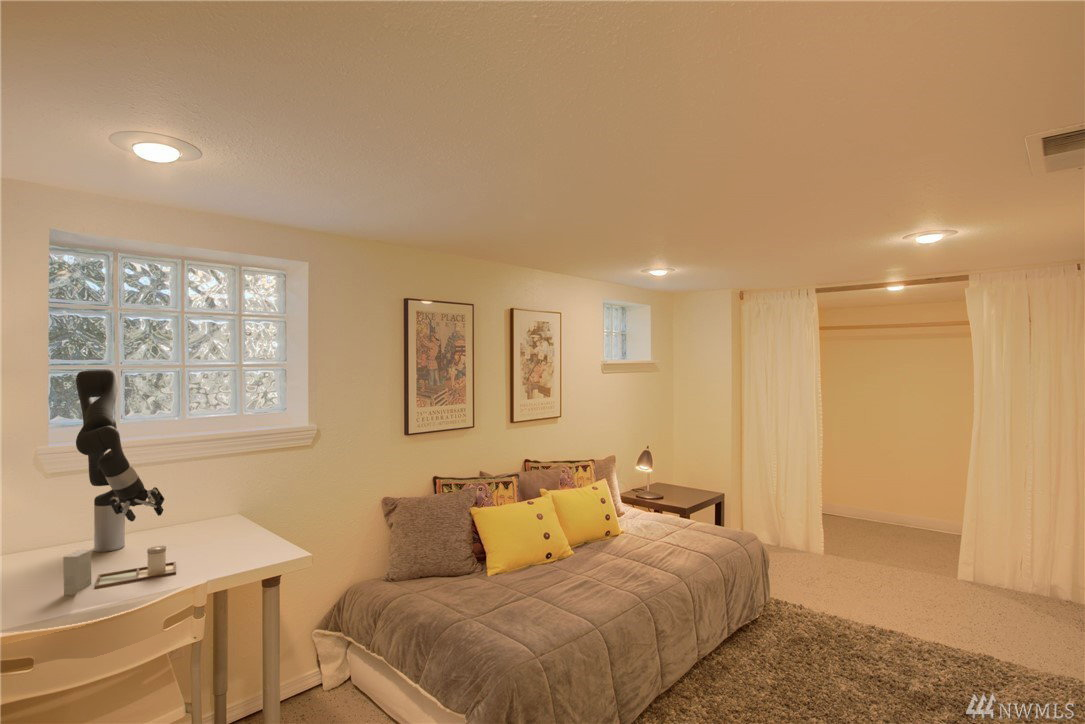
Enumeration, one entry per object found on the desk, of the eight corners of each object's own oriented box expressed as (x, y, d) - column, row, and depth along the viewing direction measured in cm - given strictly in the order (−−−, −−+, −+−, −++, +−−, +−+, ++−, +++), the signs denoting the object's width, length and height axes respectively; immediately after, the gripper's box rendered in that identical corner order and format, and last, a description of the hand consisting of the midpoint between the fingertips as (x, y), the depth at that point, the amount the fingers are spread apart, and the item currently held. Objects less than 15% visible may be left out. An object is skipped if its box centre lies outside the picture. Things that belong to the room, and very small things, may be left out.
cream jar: (147, 571, 186) (147, 547, 186) (166, 568, 189) (166, 544, 189) (146, 576, 182) (146, 552, 182) (166, 573, 185) (166, 549, 185)
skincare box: (77, 587, 175) (77, 549, 175) (91, 587, 176) (91, 549, 176) (62, 595, 169) (62, 556, 169) (77, 595, 170) (77, 556, 170)
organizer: (98, 580, 181) (98, 574, 181) (175, 566, 193) (175, 561, 193) (94, 591, 172) (94, 586, 172) (175, 577, 184) (175, 571, 184)
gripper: (152, 468, 182) (173, 504, 190) (105, 477, 180) (129, 513, 188) (143, 483, 176) (165, 520, 184) (94, 493, 174) (119, 529, 182)
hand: (147, 516), depth 186 cm, fingers open, 8 cm apart
